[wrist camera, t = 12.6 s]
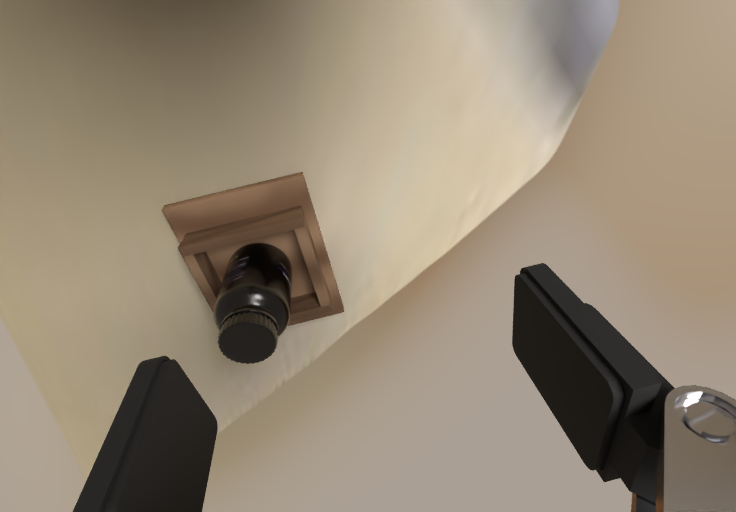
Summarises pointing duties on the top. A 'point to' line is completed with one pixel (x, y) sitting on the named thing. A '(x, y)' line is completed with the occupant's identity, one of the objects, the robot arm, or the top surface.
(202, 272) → the bottle cradle
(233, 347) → the supplement bottle
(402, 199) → the top surface
